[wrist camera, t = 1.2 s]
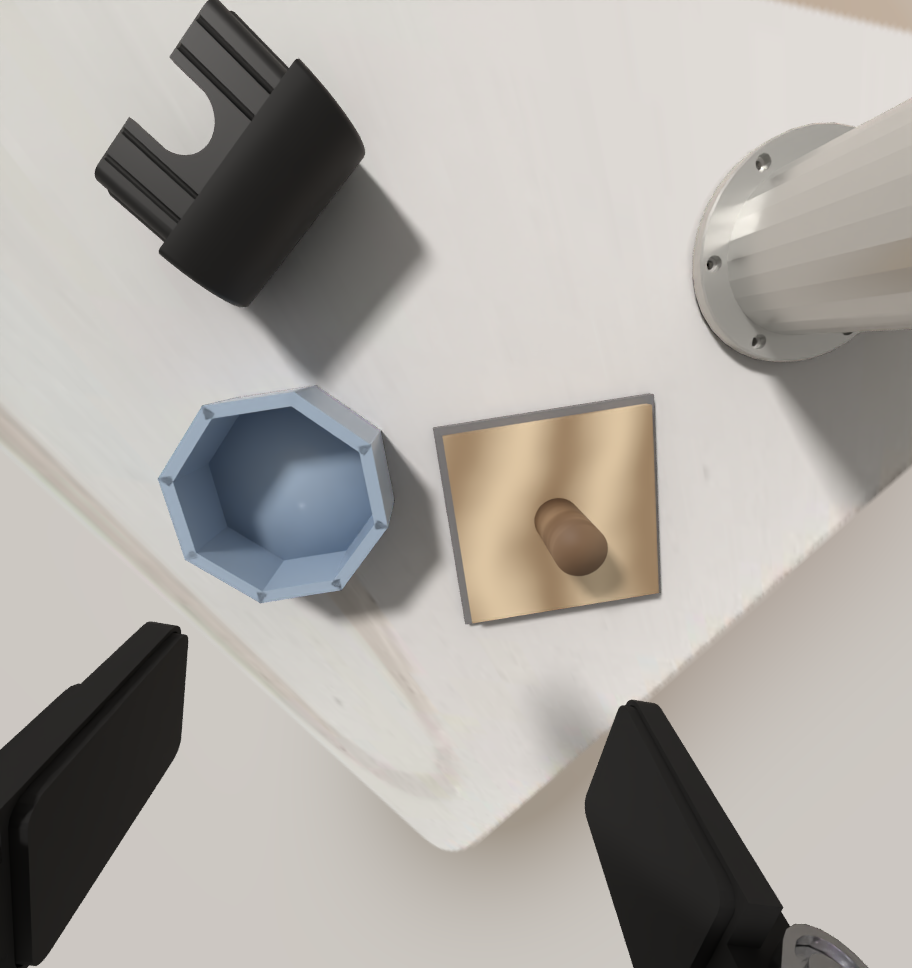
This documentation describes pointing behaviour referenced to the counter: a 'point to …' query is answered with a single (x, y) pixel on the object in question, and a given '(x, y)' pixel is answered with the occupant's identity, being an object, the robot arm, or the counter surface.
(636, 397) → the mat
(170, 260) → the end cap
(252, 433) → the bowl
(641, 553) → the lid
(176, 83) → the counter surface
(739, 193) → the robot arm
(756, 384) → the counter surface
